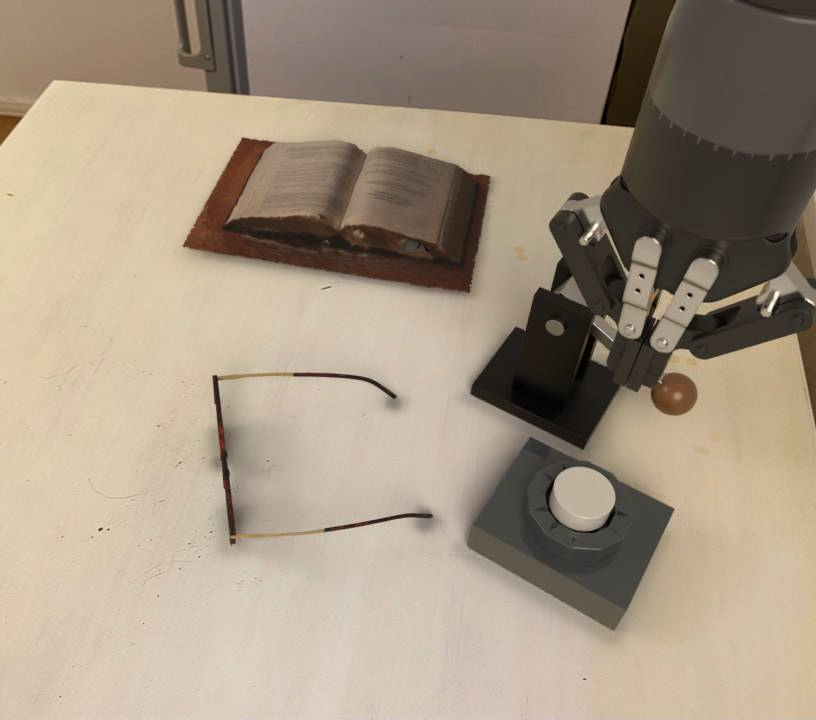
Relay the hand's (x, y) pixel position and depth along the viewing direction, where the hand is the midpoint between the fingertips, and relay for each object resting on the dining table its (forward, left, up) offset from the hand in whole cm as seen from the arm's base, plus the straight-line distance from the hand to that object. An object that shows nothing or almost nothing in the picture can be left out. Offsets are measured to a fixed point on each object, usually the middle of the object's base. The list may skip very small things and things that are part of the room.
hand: (631, 377), depth 45 cm
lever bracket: (+7, -12, -18) cm, 23 cm away
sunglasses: (+18, +5, -18) cm, 26 cm away
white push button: (0, 0, -14) cm, 14 cm away
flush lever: (+3, -12, -12) cm, 17 cm away
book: (+34, -22, -18) cm, 44 cm away
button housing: (0, 0, -18) cm, 18 cm away
